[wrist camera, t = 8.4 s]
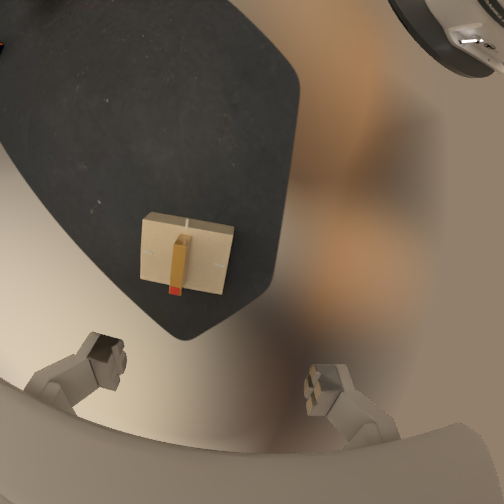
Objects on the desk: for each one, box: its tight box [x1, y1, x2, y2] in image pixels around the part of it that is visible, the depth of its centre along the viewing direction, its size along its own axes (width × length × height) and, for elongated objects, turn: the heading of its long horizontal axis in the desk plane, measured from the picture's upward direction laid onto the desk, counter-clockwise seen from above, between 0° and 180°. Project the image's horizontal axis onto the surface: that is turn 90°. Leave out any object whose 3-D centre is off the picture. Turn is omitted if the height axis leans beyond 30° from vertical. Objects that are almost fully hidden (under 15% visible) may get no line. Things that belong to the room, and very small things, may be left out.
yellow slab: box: [169, 234, 192, 296], centre depth 34 cm, size 7×2×4 cm, turn 167°
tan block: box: [140, 212, 234, 295], centre depth 37 cm, size 12×11×4 cm
